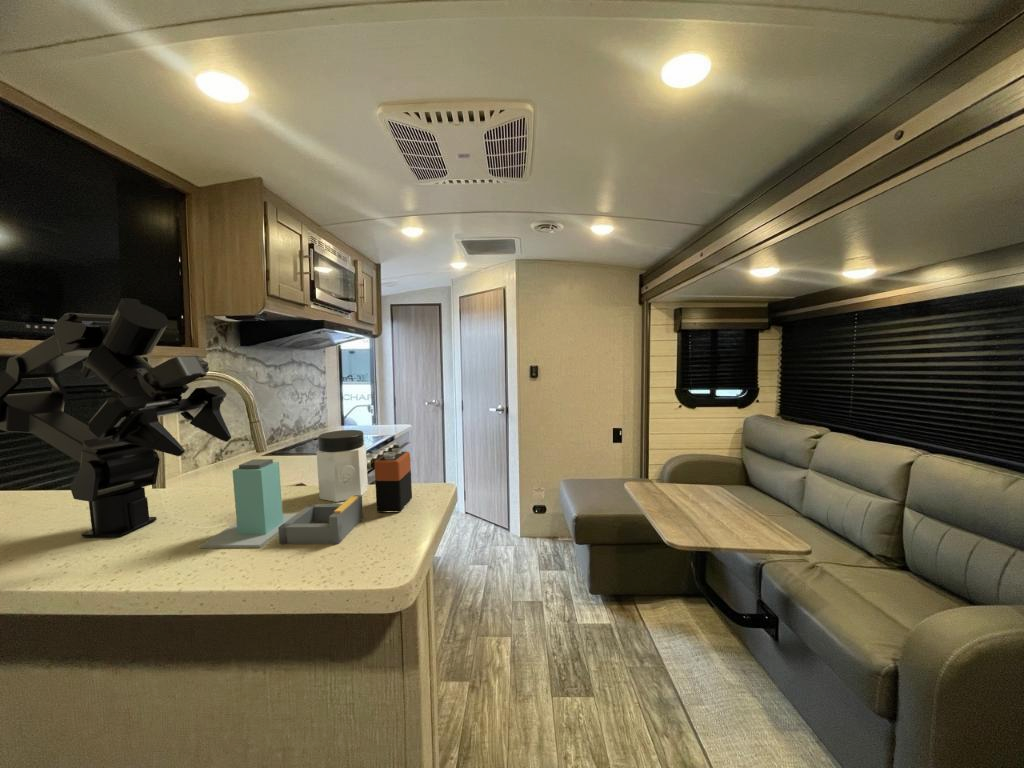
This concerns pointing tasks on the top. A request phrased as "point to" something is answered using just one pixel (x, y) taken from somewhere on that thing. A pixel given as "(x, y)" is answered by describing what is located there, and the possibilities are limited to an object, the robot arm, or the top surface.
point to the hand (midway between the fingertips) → (207, 446)
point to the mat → (242, 538)
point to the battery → (393, 480)
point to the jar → (341, 465)
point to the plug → (257, 497)
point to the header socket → (328, 533)
